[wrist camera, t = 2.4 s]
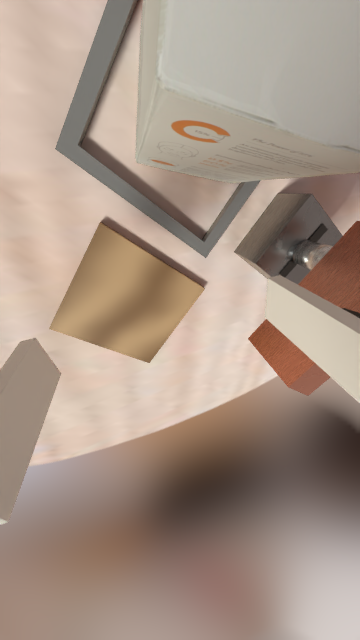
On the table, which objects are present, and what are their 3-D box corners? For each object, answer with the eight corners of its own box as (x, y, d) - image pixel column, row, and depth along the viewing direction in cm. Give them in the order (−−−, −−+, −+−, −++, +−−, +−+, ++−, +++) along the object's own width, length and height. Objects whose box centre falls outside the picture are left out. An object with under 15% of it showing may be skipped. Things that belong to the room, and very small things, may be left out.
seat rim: (58, 150, 14) (55, 149, 13) (175, -173, 9) (179, -201, 8) (203, 255, 20) (205, 257, 19) (317, 92, 15) (326, 88, 14)
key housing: (234, 251, 20) (256, 264, 17) (278, 193, 18) (312, 194, 15) (270, 281, 23) (295, 296, 20) (311, 233, 21) (347, 241, 18)
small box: (258, 74, 14) (703, -310, 3) (232, 184, 17) (413, 175, 6) (137, 26, 12) (269, -1680, 1) (133, 163, 15) (154, 93, 4)
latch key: (232, 319, 19) (288, 387, 13) (320, 216, 16) (461, 234, 9) (248, 329, 20) (308, 395, 14) (334, 234, 17) (468, 262, 10)
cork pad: (51, 325, 20) (49, 328, 19) (100, 221, 16) (99, 222, 16) (148, 359, 25) (149, 363, 25) (202, 286, 21) (204, 288, 21)
